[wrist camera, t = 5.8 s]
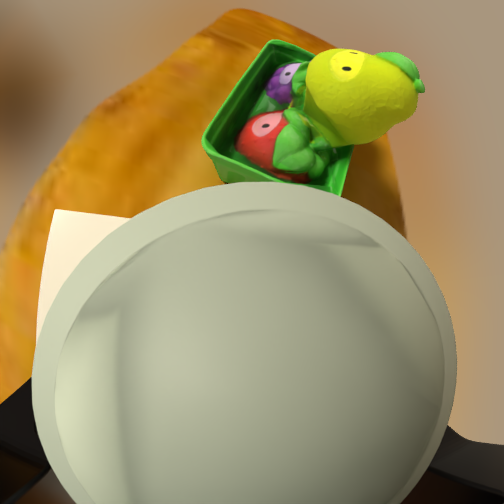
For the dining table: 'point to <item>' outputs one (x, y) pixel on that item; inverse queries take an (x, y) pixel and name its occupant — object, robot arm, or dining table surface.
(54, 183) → the dining table surface
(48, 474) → the robot arm
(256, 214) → the grey cylinder
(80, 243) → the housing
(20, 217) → the dining table surface
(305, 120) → the fruit basket
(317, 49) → the dining table surface
